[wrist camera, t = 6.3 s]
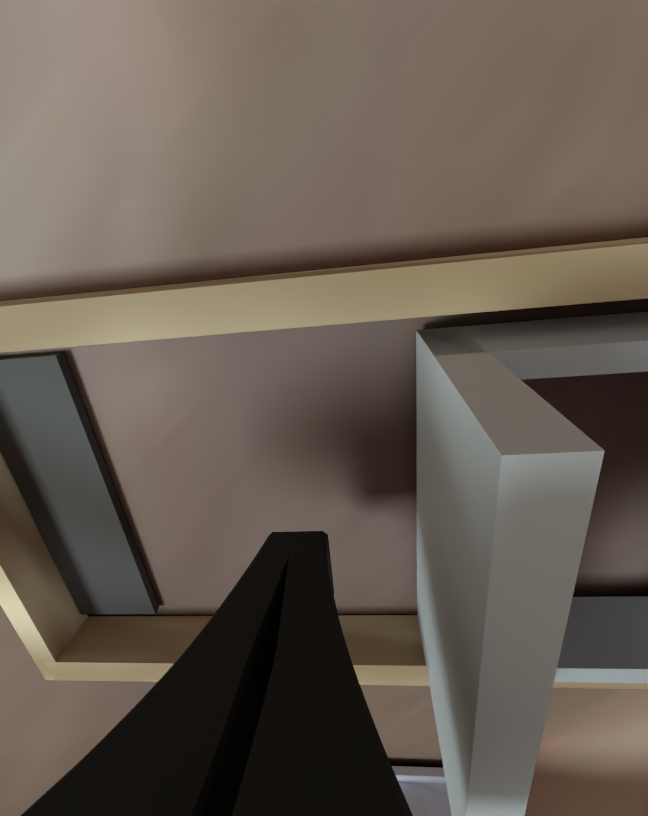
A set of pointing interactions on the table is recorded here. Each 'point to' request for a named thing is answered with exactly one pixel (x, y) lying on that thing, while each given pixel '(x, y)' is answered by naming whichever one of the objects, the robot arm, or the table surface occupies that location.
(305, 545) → the robot arm
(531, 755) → the tray
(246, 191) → the table surface
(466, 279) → the channel
